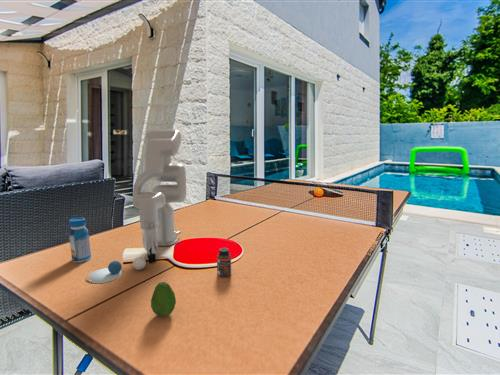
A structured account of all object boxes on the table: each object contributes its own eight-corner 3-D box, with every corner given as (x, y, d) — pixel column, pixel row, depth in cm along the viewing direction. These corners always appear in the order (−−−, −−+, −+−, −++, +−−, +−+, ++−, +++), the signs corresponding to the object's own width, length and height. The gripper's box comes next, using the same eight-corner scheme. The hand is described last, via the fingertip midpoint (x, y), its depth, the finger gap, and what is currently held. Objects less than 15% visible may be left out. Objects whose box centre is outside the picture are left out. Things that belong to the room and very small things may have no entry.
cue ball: (135, 253, 143) (132, 264, 144) (132, 259, 138) (130, 270, 139) (148, 256, 144) (145, 267, 145) (145, 262, 139) (143, 273, 140)
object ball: (120, 260, 142) (106, 263, 140) (120, 258, 138) (106, 261, 135) (122, 272, 141) (109, 276, 139) (123, 270, 136) (109, 274, 134)
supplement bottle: (218, 278, 133) (217, 253, 131) (216, 272, 138) (215, 247, 136) (232, 276, 134) (232, 251, 132) (229, 270, 140) (229, 246, 138)
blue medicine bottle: (86, 263, 149) (81, 221, 145) (68, 263, 149) (62, 221, 145) (94, 255, 157) (90, 216, 153) (77, 255, 158) (73, 216, 154)
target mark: (108, 265, 146) (108, 265, 146) (128, 272, 139) (128, 272, 139) (78, 278, 134) (78, 277, 134) (99, 286, 127) (99, 286, 127)
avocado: (167, 324, 103) (164, 289, 101) (147, 318, 106) (144, 285, 103) (181, 310, 110) (179, 278, 108) (162, 306, 113) (159, 274, 111)
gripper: (137, 220, 147) (140, 258, 150) (143, 229, 134) (146, 270, 137) (154, 218, 150) (156, 255, 154) (161, 226, 137) (164, 267, 141)
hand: (152, 262), depth 146 cm, fingers closed
